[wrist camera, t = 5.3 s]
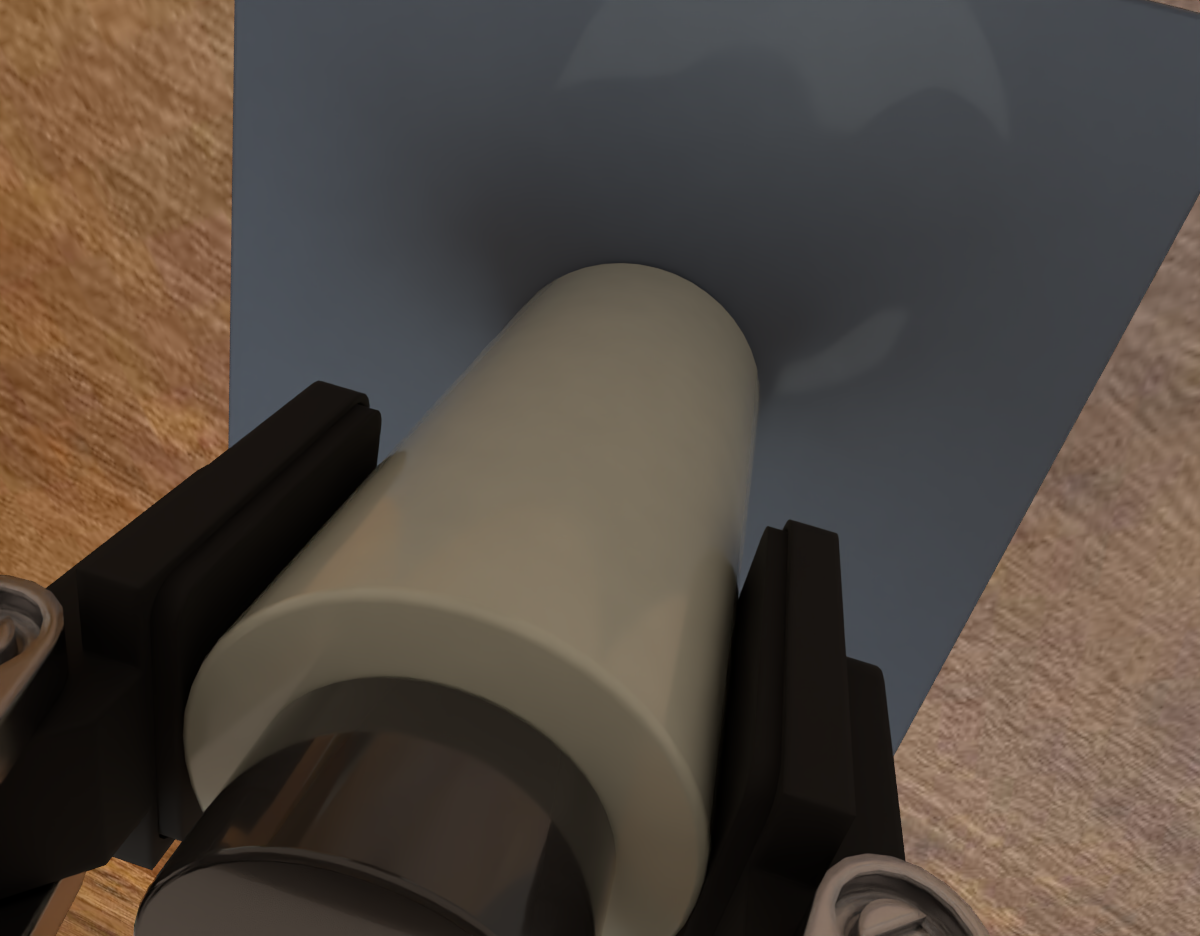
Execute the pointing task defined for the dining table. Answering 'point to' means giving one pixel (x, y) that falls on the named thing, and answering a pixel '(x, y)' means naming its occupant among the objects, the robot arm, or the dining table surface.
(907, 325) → the grey miniature table
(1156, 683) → the dining table surface
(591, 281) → the spice bottle
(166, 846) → the robot arm
